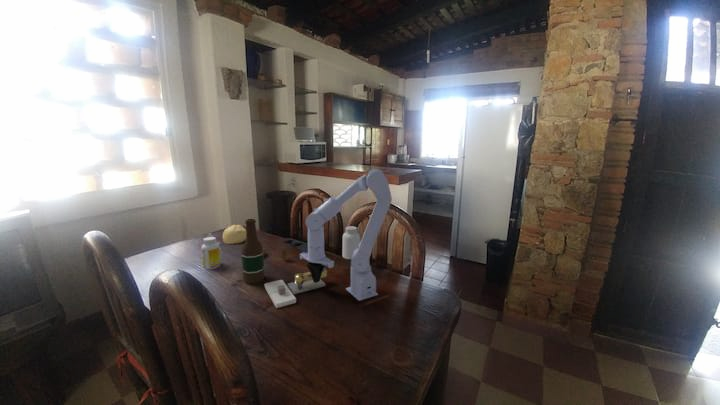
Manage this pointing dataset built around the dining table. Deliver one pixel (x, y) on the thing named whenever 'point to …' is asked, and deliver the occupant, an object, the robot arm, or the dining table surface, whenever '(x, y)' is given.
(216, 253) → the supplement bottle
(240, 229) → the steamed bun
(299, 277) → the latch arm
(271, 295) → the door board
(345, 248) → the pill bottle
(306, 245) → the dark slate chunk
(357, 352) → the dining table surface
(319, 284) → the plate
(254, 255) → the beer bottle
